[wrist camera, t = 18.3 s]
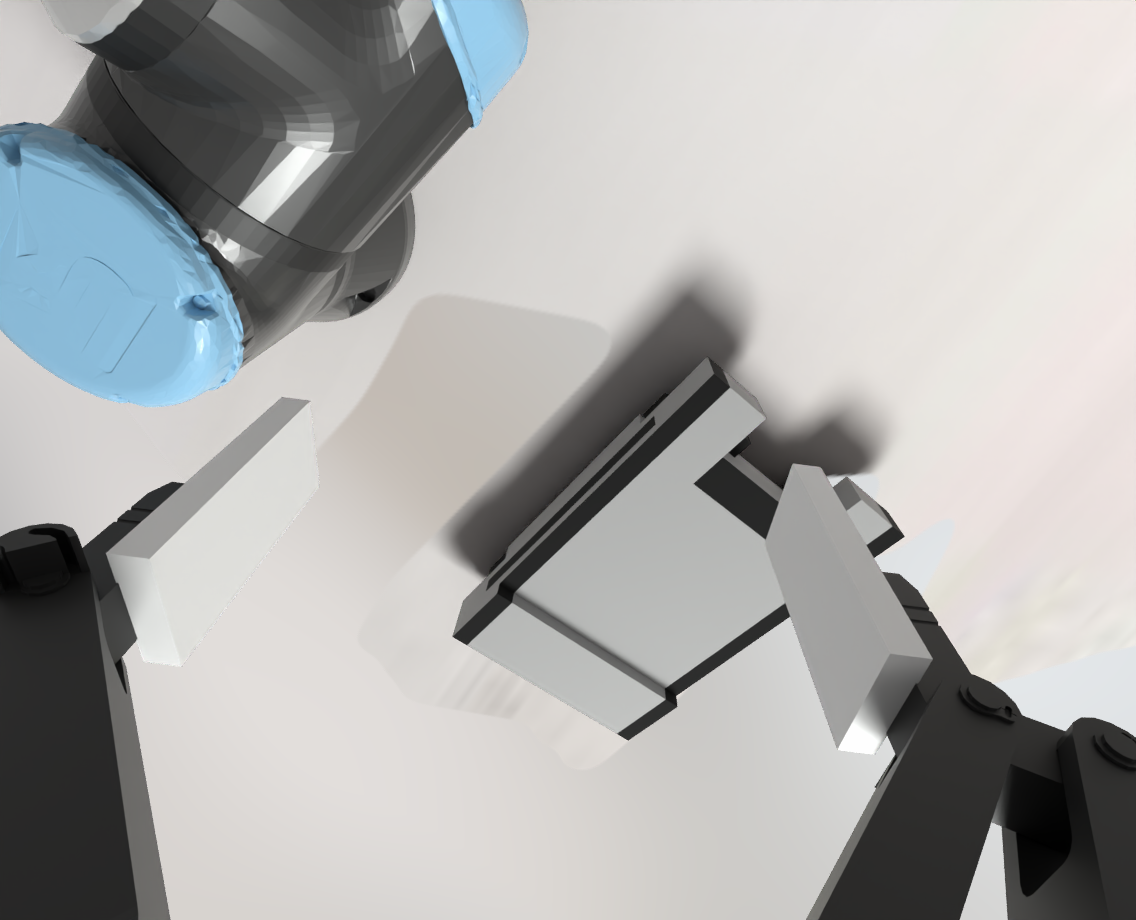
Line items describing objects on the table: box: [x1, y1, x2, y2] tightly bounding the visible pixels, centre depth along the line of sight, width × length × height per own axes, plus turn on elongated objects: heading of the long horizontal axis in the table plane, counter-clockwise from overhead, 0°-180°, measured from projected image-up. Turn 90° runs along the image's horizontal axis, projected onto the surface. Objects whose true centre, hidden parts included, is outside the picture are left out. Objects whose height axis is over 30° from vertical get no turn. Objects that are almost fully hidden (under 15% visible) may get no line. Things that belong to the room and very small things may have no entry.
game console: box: [453, 356, 905, 740], centre depth 54 cm, size 21×32×8 cm, turn 141°
